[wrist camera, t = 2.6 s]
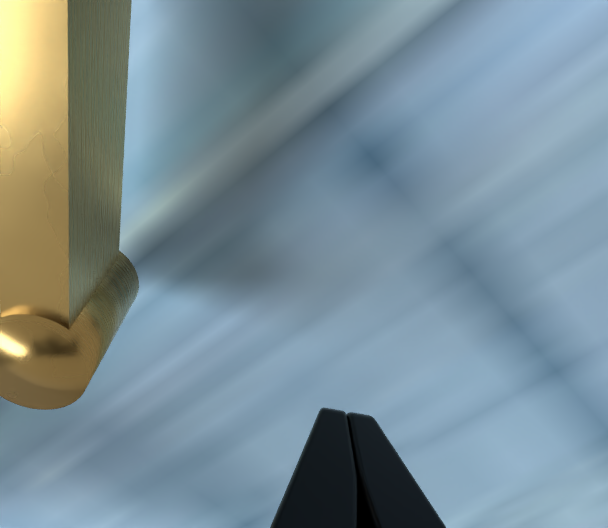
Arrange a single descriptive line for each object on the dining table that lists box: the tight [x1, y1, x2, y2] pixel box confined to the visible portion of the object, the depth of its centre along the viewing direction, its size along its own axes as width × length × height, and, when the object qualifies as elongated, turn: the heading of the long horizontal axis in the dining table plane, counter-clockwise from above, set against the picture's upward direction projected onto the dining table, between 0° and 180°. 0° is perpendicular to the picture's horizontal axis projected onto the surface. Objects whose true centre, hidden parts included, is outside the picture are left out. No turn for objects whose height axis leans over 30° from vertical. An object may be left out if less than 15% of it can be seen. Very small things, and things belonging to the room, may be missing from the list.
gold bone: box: [0, 0, 139, 410], centre depth 11 cm, size 14×3×4 cm, turn 168°
